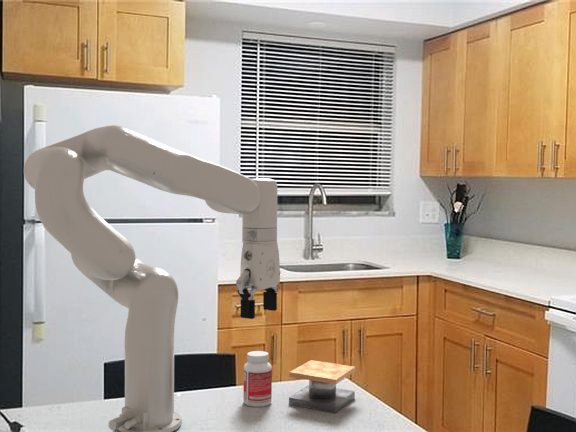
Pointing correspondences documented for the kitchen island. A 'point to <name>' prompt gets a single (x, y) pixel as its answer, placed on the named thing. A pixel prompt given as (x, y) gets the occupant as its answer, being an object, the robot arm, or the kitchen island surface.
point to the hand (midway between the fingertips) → (259, 313)
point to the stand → (322, 386)
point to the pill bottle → (257, 379)
